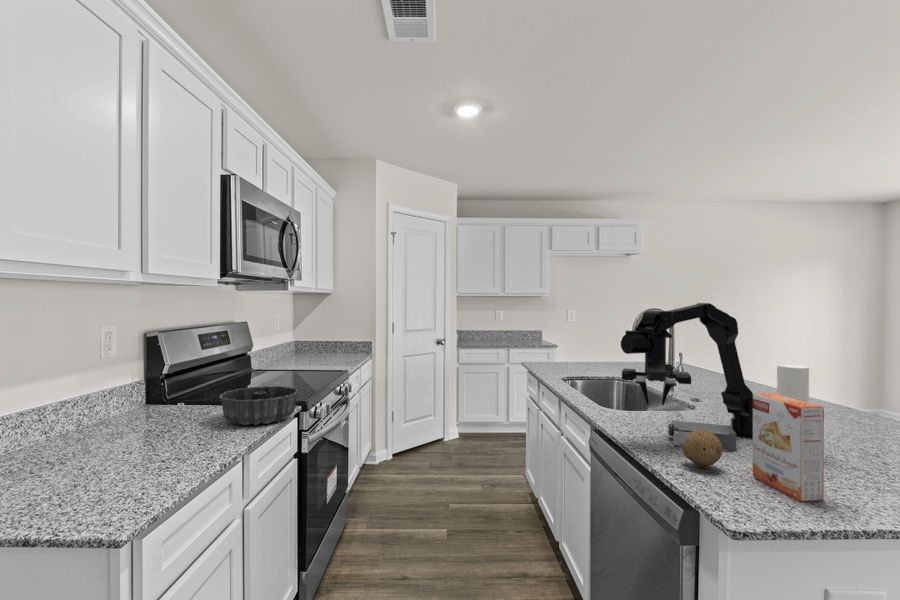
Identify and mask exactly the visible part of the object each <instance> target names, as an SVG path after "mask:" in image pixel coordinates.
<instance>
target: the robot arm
mask: <svg viewBox="0 0 900 600" xmlns="http://www.w3.org/2000/svg"><path fill="white" fill-rule="evenodd" d="M694 319H695V320H696V319H699V322H700V323H701V324H702V325H703V326H705V328H706V330H707V333H708V336H709V337H710V338H711V339H712V340H713V341H714V342H715V344H716V346H717V351H718V354H719V359H720V363H721V366H722V370H723V376H724V380H725V383H726V387H725V389H724V391H721V397H722V404H723V405H724V406H725V407H726V410H727V413H728V414H732V417H730V426H731V428H732V429H733V430H734V432H735V433H736V437H743V438H753V394H754V393H753V391H752V390H751V389H750V388H749V387H748V385H746V383H745V379H744V374H743V370H742V367H741V363H740V359H739V355H738V349H737V346H736V345H737V344H736V340H737V337H738V335H739V328H738V327H739V326H738V321H737V318H736V317H733V316H732V315H730V314H728V313H727V312H725V311H723V310H722V309H719V308H717V307H716V305H714V304H712V303H709V302H697V303H695V304H692V305H687V306H684V307H679V308H674V309H669V310H647V311H645V312H643V315H642V317H641V319H640V321H639V322H638V324H637V325H636V327H635V329H634V330H625V334H624V335H623V336H622V338H621V340H620V348H621V349H622V351H623V353H624V354H626V355H632V354H644V371H636V368H623V369H622V370H621V380H624V381H635V383H634V384H638V385H639V386H640V388H641V391H642V393H643V397H644V400H645V402H646V405H649V396H648V387H647V382H646V381H650V382H654V381H656V382H662V383H663V386H662V387H663V389H662V395H661V406H664V405H665V402H666V400H667V397H668V395H669V392H670V390H672V389H671V388H673V387H676V386H677V383H678V384H681V385H692V375H691V374H690V373H689V372H688V371H677V370H675V371H674V365H673V364H668V363H667V339H668V338H669V339H671V338H673V334H671V333H670V332H668V330H669V329H671V328H674V326H675V324H678V323H682V322H686V321H691V320H694ZM646 379H647V380H646ZM676 382H677V383H676Z"/></svg>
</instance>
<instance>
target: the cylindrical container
mask: <svg viewBox="0 0 900 600" xmlns="http://www.w3.org/2000/svg"><path fill="white" fill-rule="evenodd" d="M809 374H810V367H808V366H806V365H799V364H797V365H796V364H786V363H785V364H777V365H776V394H779V395H782V396H786V397H790V398H793V399H797V400H800V401H804V402H808V403H810V399H809V397H810V394H809V393H810V386H809V385H810V384H809V383H810V378H809V377H810V375H809Z"/></svg>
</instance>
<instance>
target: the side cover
mask: <svg viewBox="0 0 900 600" xmlns="http://www.w3.org/2000/svg"><path fill="white" fill-rule="evenodd" d="M690 433H691V432H687V431H674V441H673V444H674V446H678V445H679V444H683V443H684V442H685V440H686V438H687V437H688V435H689V434H690Z"/></svg>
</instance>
